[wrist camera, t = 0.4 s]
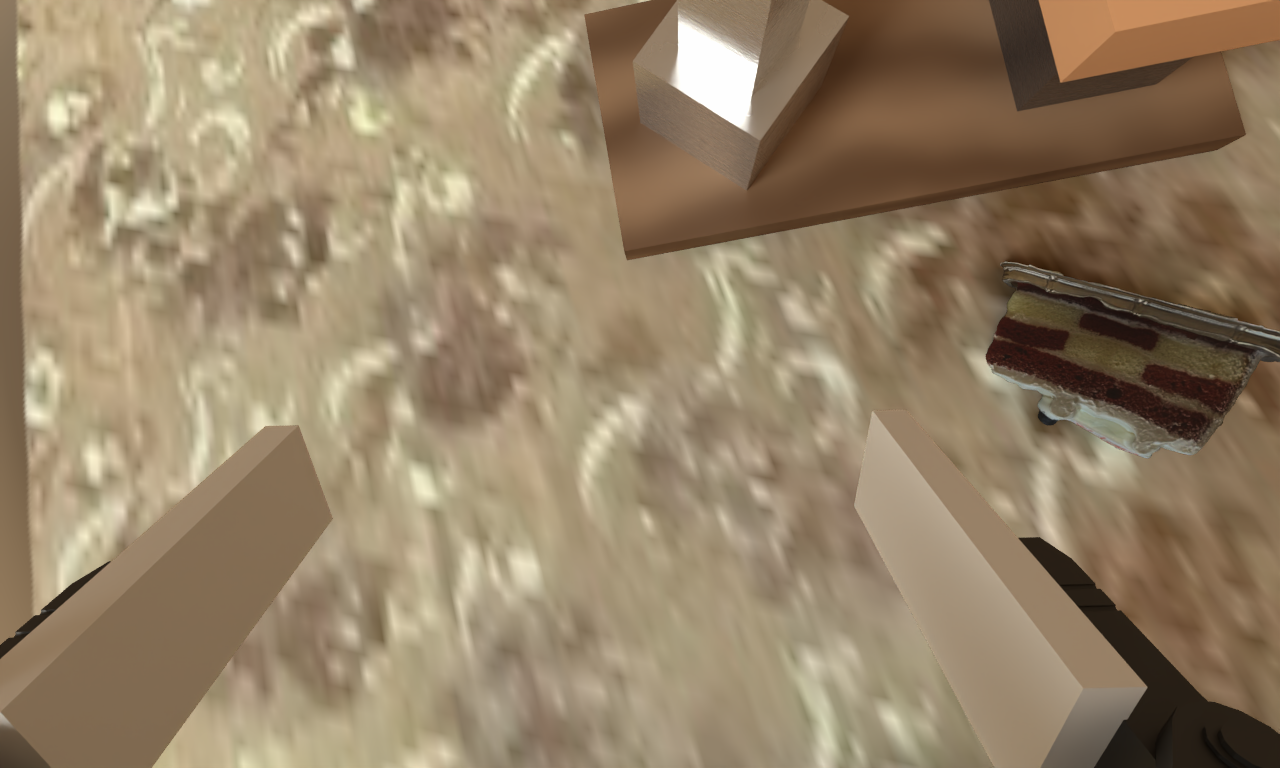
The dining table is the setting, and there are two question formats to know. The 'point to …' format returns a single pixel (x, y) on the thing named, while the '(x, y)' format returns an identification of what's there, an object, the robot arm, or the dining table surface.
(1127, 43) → the collar
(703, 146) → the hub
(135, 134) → the dining table surface
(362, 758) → the dining table surface
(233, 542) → the robot arm
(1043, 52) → the stand
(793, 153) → the board
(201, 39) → the dining table surface
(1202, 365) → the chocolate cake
